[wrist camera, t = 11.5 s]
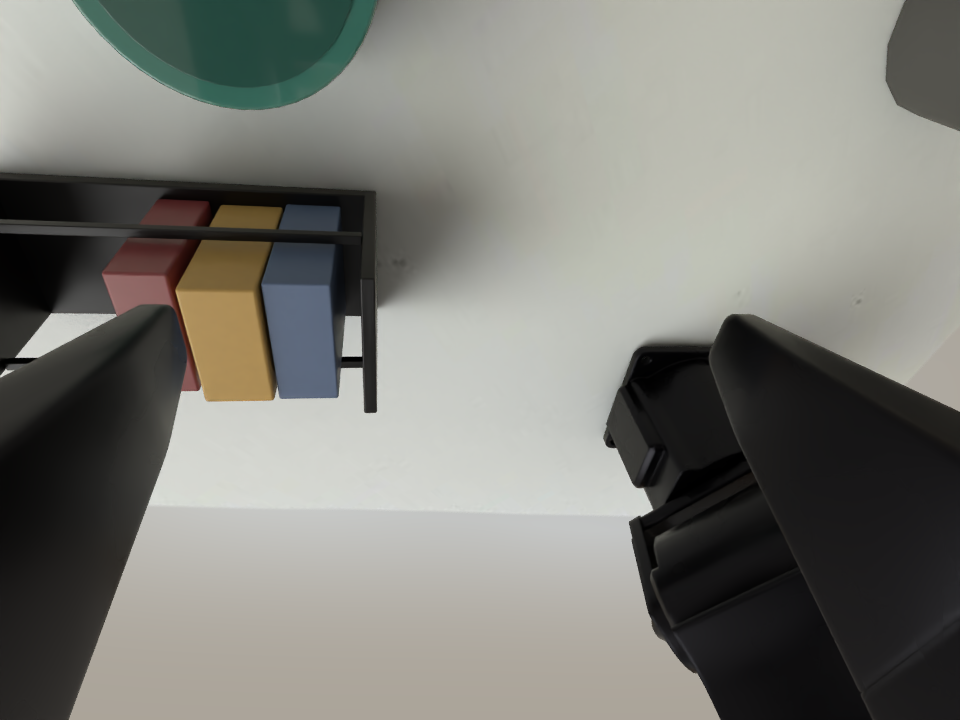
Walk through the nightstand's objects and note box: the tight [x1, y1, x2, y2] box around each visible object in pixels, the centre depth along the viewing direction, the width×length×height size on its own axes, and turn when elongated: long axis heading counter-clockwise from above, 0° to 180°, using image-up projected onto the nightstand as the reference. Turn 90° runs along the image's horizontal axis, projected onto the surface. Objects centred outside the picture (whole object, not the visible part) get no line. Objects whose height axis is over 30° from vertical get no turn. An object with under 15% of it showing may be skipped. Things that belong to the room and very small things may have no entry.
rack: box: [0, 173, 377, 413], centre depth 17 cm, size 12×5×6 cm, turn 84°
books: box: [102, 199, 346, 401], centre depth 17 cm, size 6×4×5 cm
